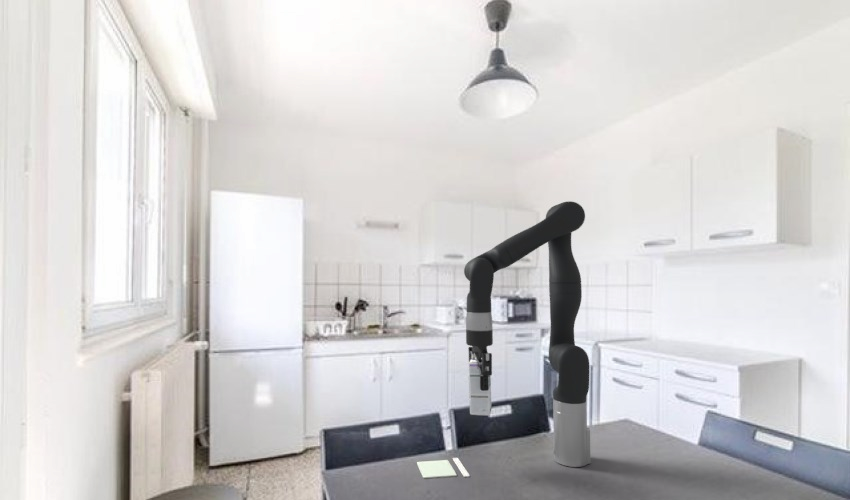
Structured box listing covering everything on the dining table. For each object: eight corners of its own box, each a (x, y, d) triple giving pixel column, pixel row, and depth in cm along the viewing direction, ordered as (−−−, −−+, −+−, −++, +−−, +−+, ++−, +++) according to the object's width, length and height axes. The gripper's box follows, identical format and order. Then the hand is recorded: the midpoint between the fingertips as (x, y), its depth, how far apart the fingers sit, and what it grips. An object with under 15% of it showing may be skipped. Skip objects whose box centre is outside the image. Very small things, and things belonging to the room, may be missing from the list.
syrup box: (490, 415, 120) (489, 362, 121) (469, 414, 121) (468, 361, 122) (491, 410, 125) (490, 358, 126) (471, 409, 126) (470, 358, 127)
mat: (447, 460, 125) (447, 459, 125) (456, 475, 115) (456, 474, 115) (416, 463, 124) (416, 461, 124) (423, 478, 114) (423, 477, 114)
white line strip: (457, 458, 127) (457, 457, 127) (469, 476, 115) (469, 475, 115) (452, 459, 127) (452, 458, 127) (464, 477, 115) (464, 475, 115)
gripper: (500, 330, 119) (501, 392, 117) (483, 325, 133) (484, 381, 131) (474, 331, 117) (475, 394, 116) (459, 326, 131) (460, 382, 130)
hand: (480, 387), depth 124 cm, fingers closed on syrup box, 7 cm apart
